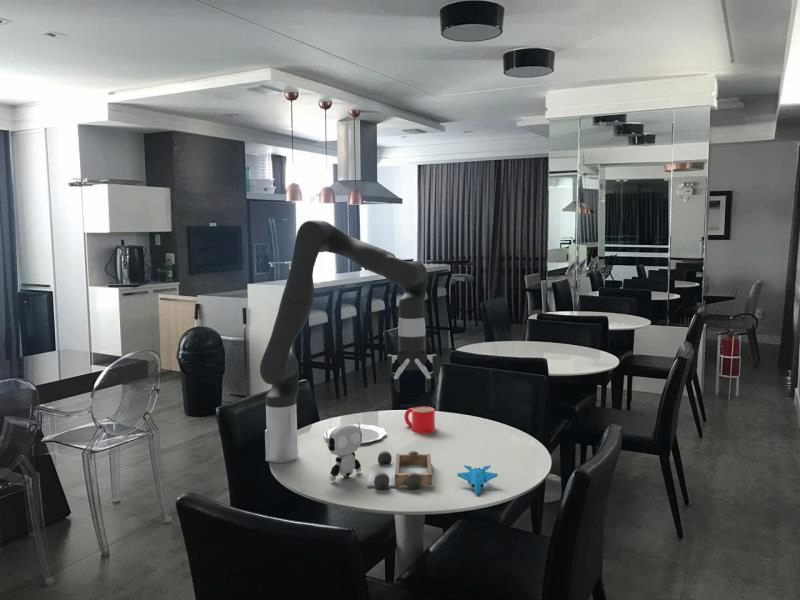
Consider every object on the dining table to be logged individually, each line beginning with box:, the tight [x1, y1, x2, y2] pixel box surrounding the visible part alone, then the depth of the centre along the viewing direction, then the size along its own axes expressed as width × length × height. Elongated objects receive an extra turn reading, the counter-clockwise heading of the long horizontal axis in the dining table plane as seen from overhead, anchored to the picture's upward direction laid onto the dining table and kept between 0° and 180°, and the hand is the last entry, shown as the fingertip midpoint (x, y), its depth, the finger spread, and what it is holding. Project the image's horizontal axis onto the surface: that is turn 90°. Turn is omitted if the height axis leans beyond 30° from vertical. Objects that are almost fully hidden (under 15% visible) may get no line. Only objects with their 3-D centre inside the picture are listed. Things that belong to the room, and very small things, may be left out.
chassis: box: [366, 450, 435, 491], centre depth 186 cm, size 18×20×4 cm
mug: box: [404, 406, 436, 434], centre depth 230 cm, size 8×12×8 cm, turn 55°
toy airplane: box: [456, 464, 499, 497], centre depth 178 cm, size 12×10×4 cm
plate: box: [323, 423, 387, 445], centre depth 224 cm, size 21×21×2 cm
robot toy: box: [325, 421, 363, 482], centre depth 185 cm, size 12×4×15 cm, turn 135°
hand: (412, 391), depth 184 cm, fingers open, 7 cm apart
